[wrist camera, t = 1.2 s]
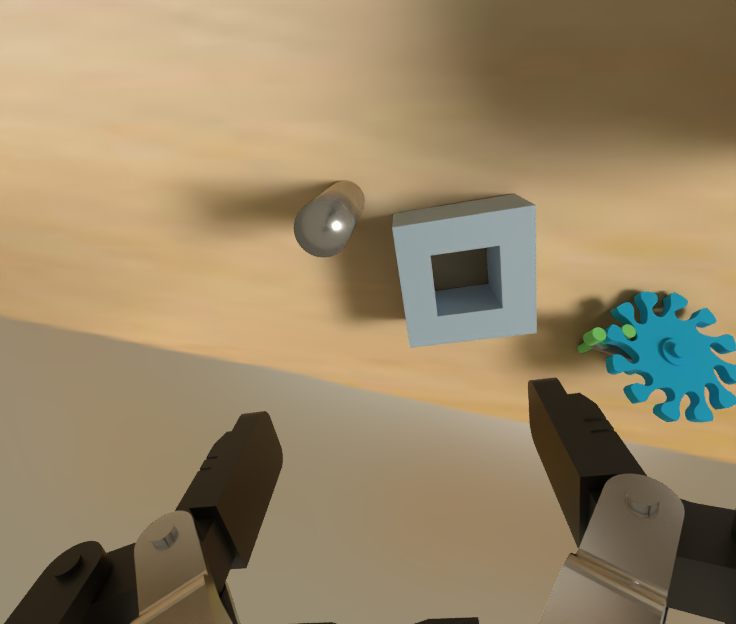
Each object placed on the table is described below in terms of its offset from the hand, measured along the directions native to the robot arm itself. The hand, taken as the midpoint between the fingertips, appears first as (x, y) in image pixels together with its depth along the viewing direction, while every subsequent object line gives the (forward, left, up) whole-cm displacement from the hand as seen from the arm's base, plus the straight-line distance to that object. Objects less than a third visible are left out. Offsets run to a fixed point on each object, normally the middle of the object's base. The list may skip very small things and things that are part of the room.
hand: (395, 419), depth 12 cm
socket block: (+2, +4, -21) cm, 22 cm away
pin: (-4, -4, -21) cm, 22 cm away
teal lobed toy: (+10, +18, -22) cm, 30 cm away
